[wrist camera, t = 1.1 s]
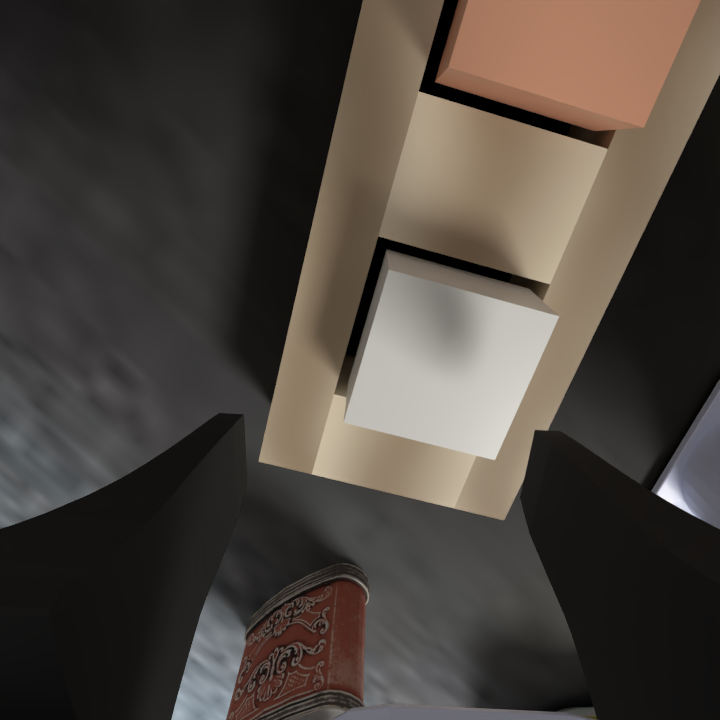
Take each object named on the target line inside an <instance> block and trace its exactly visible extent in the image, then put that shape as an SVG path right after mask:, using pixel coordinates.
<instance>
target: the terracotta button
mask: <svg viewBox="0 0 720 720" xmlns="http://www.w3.org/2000/svg"><path fill="white" fill-rule="evenodd" d="M700 1H701V0H458V3H457V7H456V10H455V14H454V17H453V21H452V24H451V28H450V31H449V34H448V38H447V41H446V45H445V48H444V52H443V55H442V59H441V62H440V66H439V69H438V73H437V76H436V79H435V82H436V83H439V84H442V85H446V86H449V87H452V88H455V89H459V90H462V91H465V92H468V93H472V94H475V95H478V96H481V97H485V98H488V99H491V100H494V101H498V102H501V103H504V104H507V105H511V106H514V107H517V108H521V109H524V110H527V111H530V112H534V113H537V114H540V115H543V116H547V117H550V118H553V119H556V120H560V121H563V122H566V123H569V124H573V125H576V126H579V127H582V128H586V129H589V130H592V131H604V130H618V129H632V128H644V126H645V124H646V122H647V119H648V117H649V115H650V113H651V111H652V108H653V106H654V104H655V102H656V99H657V97H658V95H659V93H660V90H661V88H662V86H663V84H664V82H665V79H666V77H667V75H668V73H669V70H670V68H671V66H672V64H673V61H674V59H675V57H676V55H677V52H678V50H679V48H680V46H681V44H682V41H683V39H684V37H685V35H686V32H687V30H688V28H689V26H690V23H691V21H692V19H693V17H694V15H695V12H696V10H697V8H698V6H699V3H700Z"/></svg>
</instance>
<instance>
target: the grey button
mask: <svg viewBox="0 0 720 720" xmlns="http://www.w3.org/2000/svg"><path fill="white" fill-rule="evenodd" d="M558 318H559V316H558V315H557V314H556V313H555V312H554V311H553V310H552V309H551V308H550V307H549V306H547V305H546V304H545V303H544V302H543V301H542V300H541V299H540V298H539V297H538V296H537V295H536V294H534V293H533V292H532V291H531V290H530V289H528V288H525V287H521V286H518V285H514V284H510V283H507V282H503V281H500V280H496V279H492V278H489V277H485V276H482V275H478V274H474V273H471V272H467V271H464V270H460V269H456V268H453V267H449V266H446V265H442V264H438V263H435V262H431V261H428V260H424V259H420V258H417V257H413V256H410V255H406V254H402V253H399V252H395V251H392V250H388V249H386V253H385V256H384V259H383V263H382V266H381V270H380V273H379V277H378V280H377V284H376V287H375V291H374V294H373V298H372V301H371V304H370V308H369V311H368V315H367V318H366V322H365V325H364V329H363V332H362V336H361V339H360V343H359V346H358V349H357V353H356V356H355V360H354V363H353V367H352V370H351V374H350V377H349V381H348V388H347V397H346V405H345V414H344V423H347V424H351V425H355V426H359V427H363V428H367V429H371V430H375V431H379V432H383V433H387V434H391V435H395V436H399V437H403V438H407V439H411V440H415V441H419V442H423V443H428V444H432V445H436V446H440V447H444V448H448V449H452V450H456V451H460V452H464V453H468V454H472V455H476V456H480V457H484V458H488V459H492V460H495V459H496V457H497V454H498V452H499V450H500V448H501V446H502V443H503V441H504V439H505V437H506V434H507V432H508V430H509V428H510V425H511V423H512V421H513V419H514V417H515V414H516V412H517V410H518V408H519V405H520V403H521V401H522V399H523V396H524V394H525V392H526V390H527V387H528V385H529V383H530V381H531V379H532V376H533V374H534V372H535V370H536V367H537V365H538V363H539V361H540V358H541V356H542V354H543V352H544V350H545V347H546V345H547V343H548V341H549V338H550V336H551V334H552V332H553V329H554V327H555V325H556V323H557V320H558Z"/></svg>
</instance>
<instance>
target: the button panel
mask: <svg viewBox="0 0 720 720" xmlns="http://www.w3.org/2000/svg"><path fill="white" fill-rule="evenodd" d="M443 3H444V0H363V2H362V7H361V11H360V16H359V20H358V24H357V29H356V33H355V38H354V42H353V46H352V51H351V55H350V60H349V64H348V69H347V73H346V77H345V82H344V86H343V91H342V95H341V99H340V104H339V108H338V113H337V117H336V122H335V126H334V130H333V135H332V139H331V144H330V148H329V152H328V157H327V161H326V166H325V170H324V175H323V179H322V183H321V188H320V192H319V197H318V201H317V205H316V210H315V214H314V219H313V223H312V228H311V232H310V236H309V241H308V245H307V250H306V254H305V258H304V263H303V267H302V272H301V276H300V281H299V285H298V289H297V294H296V298H295V303H294V307H293V311H292V316H291V320H290V325H289V329H288V334H287V338H286V342H285V347H284V351H283V356H282V360H281V364H280V369H279V373H278V378H277V382H276V387H275V391H274V395H273V400H272V404H271V409H270V413H269V417H268V422H267V426H266V431H265V435H264V440H263V444H262V448H261V453H260V457H259V462H263V463H267V464H271V465H275V466H280V467H284V468H288V469H292V470H296V471H300V472H305V473H309V474H313V475H317V476H321V477H325V478H330V479H334V480H338V481H342V482H346V483H350V484H355V485H359V486H363V487H367V488H371V489H375V490H380V491H384V492H388V493H392V494H396V495H401V496H405V497H409V498H413V499H417V500H421V501H426V502H430V503H434V504H438V505H442V506H446V507H451V508H455V509H459V510H463V511H467V512H471V513H476V514H480V515H484V516H488V517H492V518H496V519H501V520H504V519H505V517H506V515H507V513H508V511H509V509H510V507H511V505H512V503H513V501H514V499H515V497H516V495H517V492H518V490H519V488H520V486H521V484H522V482H523V480H524V478H525V473H526V468H527V464H528V459H529V455H530V450H531V445H532V441H533V436H534V432H535V430H546V431H547V430H548V428H549V426H550V424H551V422H552V420H553V418H554V416H555V414H556V412H557V410H558V408H559V406H560V404H561V401H562V399H563V397H564V395H565V393H566V391H567V389H568V387H569V385H570V383H571V381H572V379H573V377H574V375H575V373H576V370H577V368H578V366H579V364H580V362H581V360H582V358H583V356H584V354H585V352H586V350H587V348H588V346H589V344H590V341H591V339H592V337H593V335H594V333H595V331H596V329H597V327H598V325H599V323H600V321H601V319H602V317H603V315H604V313H605V310H606V308H607V306H608V304H609V302H610V300H611V298H612V296H613V294H614V292H615V290H616V288H617V286H618V284H619V282H620V279H621V277H622V275H623V273H624V271H625V269H626V267H627V265H628V263H629V261H630V259H631V257H632V255H633V253H634V250H635V248H636V246H637V244H638V242H639V240H640V238H641V236H642V234H643V232H644V230H645V228H646V226H647V224H648V222H649V219H650V217H651V215H652V213H653V211H654V209H655V207H656V205H657V203H658V201H659V199H660V197H661V195H662V193H663V191H664V188H665V186H666V184H667V182H668V180H669V178H670V176H671V174H672V172H673V170H674V168H675V166H676V164H677V162H678V159H679V157H680V155H681V153H682V151H683V149H684V147H685V145H686V143H687V141H688V139H689V137H690V135H691V133H692V131H693V128H694V126H695V124H696V122H697V120H698V118H699V116H700V114H701V112H702V110H703V108H704V106H705V104H706V102H707V100H708V97H709V95H710V93H711V91H712V89H713V87H714V85H715V83H716V81H717V79H718V77H719V75H720V0H701V1H700V3H699V6H698V8H697V10H696V12H695V15H694V17H693V19H692V21H691V23H690V26H689V28H688V30H687V32H686V35H685V37H684V39H683V41H682V44H681V46H680V48H679V50H678V52H677V55H676V57H675V59H674V61H673V64H672V66H671V68H670V70H669V73H668V75H667V77H666V79H665V82H664V84H663V86H662V88H661V90H660V93H659V95H658V97H657V99H656V102H655V104H654V106H653V108H652V111H651V113H650V115H649V117H648V119H647V122H646V124H645V126H644V128H632V129H618V130H604V131H592V130H589V129H586V128H582V127H579V126H576V125H573V124H571V126H570V129H569V131H568V134H567V136H563V135H560V134H557V133H554V132H550V131H547V130H544V129H540V128H537V127H534V126H531V125H527V124H524V123H521V122H517V121H514V120H511V119H508V118H504V117H501V116H498V115H495V114H491V113H488V112H485V111H481V110H478V109H475V108H472V107H468V106H465V105H462V104H458V103H455V102H452V101H449V100H445V99H442V98H439V97H435V96H432V95H429V94H426V93H422V92H419V89H420V85H421V82H422V78H423V74H424V71H425V67H426V64H427V60H428V56H429V53H430V49H431V46H432V42H433V39H434V35H435V31H436V28H437V24H438V21H439V17H440V14H441V10H442V6H443ZM378 236H379V237H382V238H386V239H389V240H393V241H397V242H400V243H404V244H407V245H411V246H414V247H418V248H422V249H425V250H429V251H432V252H436V253H440V254H443V255H447V256H450V257H454V258H457V259H461V260H465V261H468V262H472V263H475V264H479V265H482V266H486V267H490V268H493V269H497V270H500V271H504V272H507V273H511V274H512V276H511V278H510V281H509V283H510V284H514V285H518V286H521V287H525V288H528V289H530V290H531V291H532V292H533V293H534V294H536V295H537V296H538V297H539V298H540V299H541V300H542V301H543V302H544V303H545V304H546V305H547V306H549V307H550V308H551V309H552V310H553V311H554V312H555V313H556V314H557V315H558V316H559V318H558V320H557V323H556V325H555V327H554V329H553V332H552V334H551V336H550V338H549V341H548V343H547V345H546V347H545V350H544V352H543V354H542V356H541V358H540V361H539V363H538V365H537V367H536V370H535V372H534V374H533V376H532V379H531V381H530V383H529V385H528V387H527V390H526V392H525V394H524V396H523V399H522V401H521V403H520V405H519V408H518V410H517V412H516V414H515V417H514V419H513V421H512V423H511V425H510V428H509V430H508V432H507V434H506V437H505V439H504V441H503V443H502V446H501V448H500V450H499V452H498V454H497V457H496V459H495V460H492V459H488V458H484V457H480V456H476V455H472V454H468V453H464V452H460V451H456V450H452V449H448V448H444V447H440V446H436V445H432V444H428V443H423V442H419V441H415V440H411V439H407V438H403V437H399V436H395V435H391V434H387V433H383V432H379V431H375V430H371V429H367V428H363V427H359V426H355V425H351V424H347V423H344V414H345V405H346V397H347V388H348V381H349V377H350V374H351V370H352V367H353V363H354V360H355V356H352V355H349V354H345V353H346V350H347V346H348V343H349V339H350V335H351V332H352V328H353V325H354V321H355V318H356V314H357V310H358V307H359V303H360V300H361V296H362V293H363V289H364V285H365V282H366V278H367V275H368V271H369V267H370V264H371V260H372V257H373V253H374V250H375V246H376V242H377V239H378Z"/></svg>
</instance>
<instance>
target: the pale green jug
mask: <svg viewBox="0 0 720 720" xmlns="http://www.w3.org/2000/svg"><path fill="white" fill-rule="evenodd" d="M557 712H566V713H570V714H574V715H579V716H583V717H587V718H591V719H596V720H597V717H596V713H595V710H594V707H570V708H565V709H561V710H559V711H557Z"/></svg>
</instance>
